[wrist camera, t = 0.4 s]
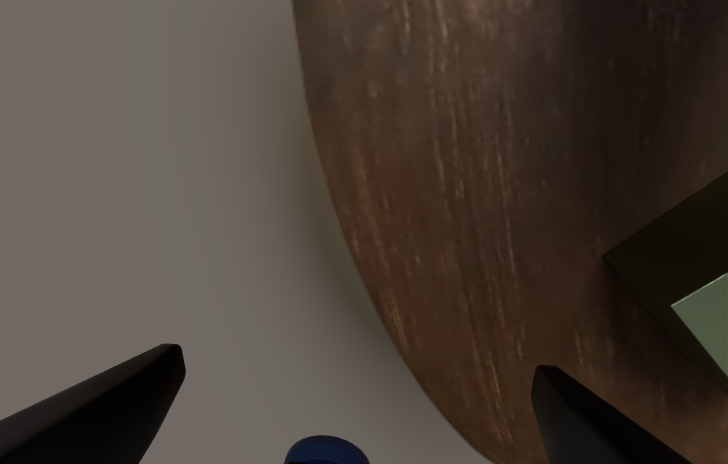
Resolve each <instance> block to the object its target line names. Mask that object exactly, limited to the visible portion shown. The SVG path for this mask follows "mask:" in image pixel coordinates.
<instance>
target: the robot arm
mask: <svg viewBox="0 0 728 464" xmlns="http://www.w3.org/2000/svg"><path fill="white" fill-rule="evenodd" d="M185 374H186V368H185V364H184V359H183V354H182V349H181V347H180V345H178V344H161V345H159V346H157V347H155V348H153V349H151V350H148V351H147V352H144V353H142V354H140V355H138V356H136V357H134V358H131V359H130V360H127V361H125V362H123V363H121V364H119V365H117V366H114V367H112V368H110V369H108V370H106V371H104V372H102V373H100V374H98V375H95V376H93V377H91V378H89V379H87V380H85V381H83V382H81V383H79V384H76V385H75V386H72V387H70V388H68V389H66V390H64V391H62V392H60V393H57V394H55V395H53V396H51V397H49V398H47V399H45V400H43V401H41V402H39V403H36V404H34V405H32V406H30V407H28V408H26V409H24V410H21V411H20V412H17V413H15V414H13V415H11V416H9V417H7V418H5V419H3V420H1V421H0V464H139V462H140V460H141V459H142V457H143V456H144V454H145V453H146V451H147V449H148V448H149V446H150V444H151V443H152V441H153V439H154V438H155V436H156V434H157V432H158V430H159V428H160V426H161V424H162V423H163V421H164V419H165V417H166V415H167V412H168V411H169V409H170V407H171V405H172V403H173V401H174V399H175V396H176V395H177V393H178V391H179V389H180V387H181V385H182V383H183V381H184V378H185ZM531 400H532V404H533V408H534V411H535V415H536V419H537V422H538V426H539V429H540V433H541V436H542V440H543V443H544V447H545V450H546V454H547V457H548V461H549V464H693V463H691V462H690V461H689V460H687V459H686V458H684V457H683V456H682V455H680V454H679V453H677V452H676V451H674V450H673V449H672V448H670V447H669V446H667V445H666V444H665V443H663V442H662V441H660V440H659V439H658V438H656V437H655V436H653V435H652V434H651V433H649V432H648V431H646V430H645V429H644V428H642V427H641V426H639V425H638V424H637V423H635V422H634V421H632V420H631V419H630V418H628V417H627V416H625V415H624V414H623V413H621V412H620V411H618V410H617V409H616V408H614V407H613V406H611V405H610V404H609V403H607V402H606V401H604V400H603V399H601V398H600V397H599V396H597V395H596V394H594V393H593V392H592V391H590V390H589V389H587V388H586V387H585V386H583V385H582V384H580V383H579V382H578V381H576V380H575V379H573V378H572V377H571V376H569V375H568V374H566V373H565V372H564V371H562V370H561V369H559V368H558V367H556V366H549V365H539V366H537V368H536V370H535V375H534V380H533V386H532V391H531ZM287 464H308V463H301V462H294V461H290V462H288V463H287Z"/></svg>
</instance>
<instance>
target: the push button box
mask: <svg viewBox="0 0 728 464" xmlns="http://www.w3.org/2000/svg"><path fill="white" fill-rule="evenodd" d="M603 257H604V258H605V259H606V261H607V262H608V263H609V264H610V265H611V267H612V268H613V269H614V270H615V271H616V273H617V274H618V275H619V276H620V278H621V279H622V280H623V281H624V282H625V284H626V285H627V286H628V287H629V288H630V290H631V291H632V292H633V293H634V295H635V296H636V297H637V298H638V299H639V301H640V302H641V303H642V304H643V305H644V307H645V308H646V309H647V310H648V312H649V313H650V314H651V315H652V316H653V318H654V319H655V320H656V321H657V322H658V324H659V325H660V326H661V327H662V329H663V330H664V331H665V332H666V333H667V335H668V336H669V337H670V338H671V339H672V341H673V342H674V343H675V344H676V346H677V347H678V348H679V349H680V350H681V352H682V353H683V354H684V355H685V356H686V358H687V359H688V360H689V361H690V363H691V364H693V365H694V366H695V367H696V368H697V369H698V370H699V371H701V372H702V373H703V374H704V375H705V376H706V377H707V378H708V379H710V380H711V381H712V382H713V383H714V384H715V385H716V386H717V387H719V388H720V389H721V390H722V391H723V392H724V393H725V394H727V395H728V172H727V173H725V174H724V175H722V176H721V177H719V178H718V179H716V180H715V181H713V182H712V183H710V184H709V185H707V186H706V187H704V188H703V189H701V190H700V191H698V192H697V193H695V194H694V195H692V196H691V197H689V198H688V199H686V200H685V201H683V202H682V203H680V204H679V205H677V206H676V207H674V208H673V209H671V210H670V211H668V212H667V213H665V214H664V215H662V216H661V217H659V218H658V219H656V220H655V221H653V222H652V223H650V224H649V225H647V226H646V227H644V228H643V229H641V230H640V231H638V232H637V233H635V234H634V235H632V236H631V237H629V238H628V239H626V240H625V241H623V242H622V243H620V244H619V245H617V246H616V247H614V248H613V249H611V250H610V251H608V252H607V253H605V254H604V255H603Z"/></svg>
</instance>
